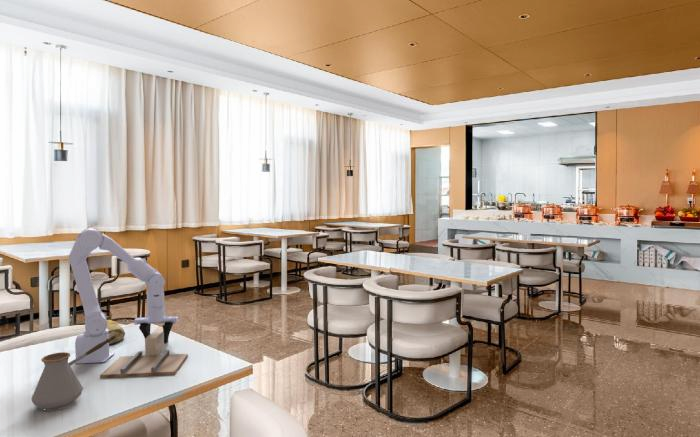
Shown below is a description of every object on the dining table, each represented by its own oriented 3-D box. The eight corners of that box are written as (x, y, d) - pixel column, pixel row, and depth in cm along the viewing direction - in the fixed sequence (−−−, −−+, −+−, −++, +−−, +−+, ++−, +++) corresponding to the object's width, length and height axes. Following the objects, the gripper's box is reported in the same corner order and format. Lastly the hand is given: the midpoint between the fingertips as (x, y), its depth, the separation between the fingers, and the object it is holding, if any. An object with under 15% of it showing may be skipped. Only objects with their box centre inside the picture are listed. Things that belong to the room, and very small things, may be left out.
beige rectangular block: (145, 355, 153) (144, 338, 153) (158, 342, 166) (158, 327, 166) (156, 355, 154) (155, 338, 153) (168, 342, 167) (167, 326, 166)
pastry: (97, 335, 175) (96, 315, 175) (130, 334, 177) (129, 314, 176) (80, 348, 161) (79, 326, 161) (116, 346, 163) (115, 325, 162)
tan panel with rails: (100, 378, 135) (99, 370, 135) (120, 359, 150) (120, 352, 150) (175, 374, 137) (174, 366, 137) (187, 356, 152) (187, 349, 152)
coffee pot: (38, 419, 111) (34, 360, 110) (27, 404, 119) (24, 349, 118) (127, 390, 126) (125, 338, 125) (113, 379, 134) (111, 330, 133)
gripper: (180, 302, 164) (181, 338, 165) (138, 303, 162) (140, 340, 163) (174, 307, 157) (175, 345, 158) (131, 308, 155) (132, 347, 156)
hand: (157, 343), depth 160 cm, fingers open, 5 cm apart
